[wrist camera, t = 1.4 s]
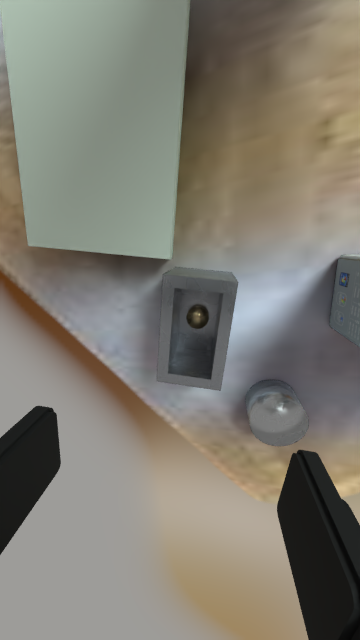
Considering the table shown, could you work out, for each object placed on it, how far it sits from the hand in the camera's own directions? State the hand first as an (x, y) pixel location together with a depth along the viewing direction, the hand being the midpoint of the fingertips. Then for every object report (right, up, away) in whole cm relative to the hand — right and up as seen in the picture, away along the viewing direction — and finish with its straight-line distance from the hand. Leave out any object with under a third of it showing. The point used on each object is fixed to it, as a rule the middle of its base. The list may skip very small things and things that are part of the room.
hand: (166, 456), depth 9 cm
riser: (-6, +22, +13) cm, 27 cm away
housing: (+3, +6, +18) cm, 19 cm away
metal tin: (+12, -5, +20) cm, 23 cm away
